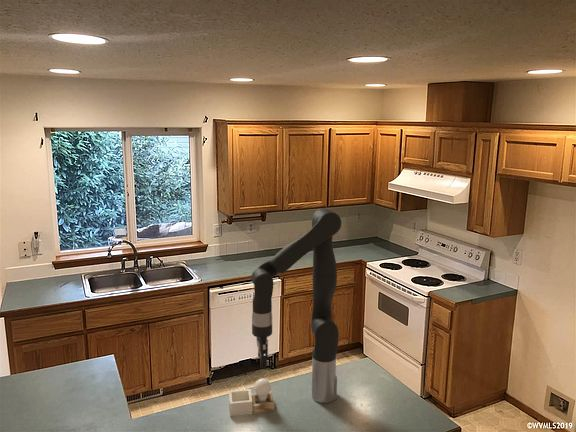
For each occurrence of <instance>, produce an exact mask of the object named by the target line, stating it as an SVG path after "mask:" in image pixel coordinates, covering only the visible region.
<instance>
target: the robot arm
mask: <svg viewBox="0 0 576 432" xmlns="http://www.w3.org/2000/svg"><path fill="white" fill-rule="evenodd" d="M311 226H312V227H311V228H310V230H308V232H306V233H305V234H304V235H303V236H300V237H299V238H297V239H295V240H294V241H292V242H290V243H288V244H287V245H285V246H284V247H283V248H281V250H278V252H277V253H276V254H275V255H274V256H273V257H272V258H270V259H269V260H267V261H265V262H264V263H261V264H260V265H259V266H257V267H256V268H255V269H254V270H253V272H252V273H251V281H252V284H253V289H254V290H253V291H254V293H253V294H254V295H253V298H252V313H251V314H252V315H251V334H252V335H253V336H254V337H256V345H257V357H258V358H259V360H260V365H259V366H260V369H261V370H262V369H267V367H268V366H267V363H268V362H267V361H268V360H269V357H268V356H269V348H268V347H269V339H268V338H269V337H270V336H272V334H273V311H272V309H273V307H272V306H273V305H272V302H273V301H272V300H273V299H272V297H273V292H274V277H275V276H277V275H278V274H281V275H283V274H284V273H286V272H287V271H288V270H289V269H291V268H292V267H293V266H294V265H295V264H296V263H298V261H300V259H301V258H303V257H304V256H305V255H307V254H308V253H309V252H311V251H312V250H313V253H312V255H313V256H312V299H313V303H312V313H311V319H310V320H311V322H310V327H311V328H310V329H311V331H312V334H313V335H314V347H313V349H312V352H311V354H312V355H311V356H312V359H311V360H312V362H311V364H312V365H311V366H312V368H311V369H312V371H311V377H312V378H311V397H312V400H314V401H315V402H317V403H320V404H321V403H322V404H328V403H331V402H333V401H337V398H338V376H337V373H336V372H337V371H336V369H337V354H338V350H339V333H340V332H339V328H338V325H337V324H336V323H335V321H334V319H333V313H332V311H333V310H332V301H333V297H334V296H335V295H334V294H335V292H336V289H337V283H338V267H337V261H336V256H335V253H334V248H333V237H334V235H336V234H337V233H338V232H339V231H340V229H341V227H342V219H341V217H340V216H339V214H338V213H336V212H334V211H332V210H331V209H328V208H325V207H324V208H319V209H317V210H316V211H315V212H314V213H313V215H312V217H311Z"/></svg>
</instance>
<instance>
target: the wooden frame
mask: <svg viewBox="0 0 576 432" xmlns="http://www.w3.org/2000/svg"><path fill="white" fill-rule="evenodd" d="M251 396H252V405H253V414H259V413H268V412H270V413H271V412H275V411H276V410H275V401H274V396H273V392H272V391H270V392H269V394H268V395H267V398H266V403H262V404H259V402H258V401H259V398H258V395H257V394H256V392H255V393H251ZM268 401H269V402H268ZM257 402H258V403H257Z"/></svg>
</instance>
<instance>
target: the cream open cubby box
mask: <svg viewBox="0 0 576 432" xmlns="http://www.w3.org/2000/svg"><path fill="white" fill-rule="evenodd" d="M251 394H252V392H251V388H246V389H237V390H236V389H235V390H228V405H229V406H228V407H229V416H232V417H233V415H234V416H241V415H249V414H250V415H251V414H254V413H253V405H252V396H251Z"/></svg>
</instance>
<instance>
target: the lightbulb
mask: <svg viewBox="0 0 576 432" xmlns="http://www.w3.org/2000/svg"><path fill="white" fill-rule="evenodd" d="M253 385H254V387H253V389H254V392H255V393H256V394H257V395H258V398H259V402H258V404H262V403H267V401H266V398H267V395H268V394H269V392H271V389H272V386H271V382H270V381H269V380H268V379H266V378H264V377H263V378H262V377H261V378H258V379H257V380H256V381H255V383H254V384H253Z"/></svg>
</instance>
